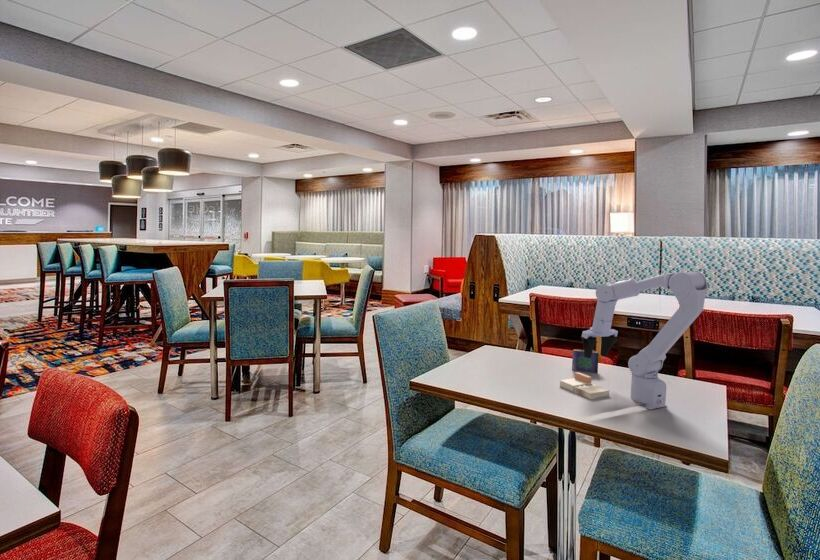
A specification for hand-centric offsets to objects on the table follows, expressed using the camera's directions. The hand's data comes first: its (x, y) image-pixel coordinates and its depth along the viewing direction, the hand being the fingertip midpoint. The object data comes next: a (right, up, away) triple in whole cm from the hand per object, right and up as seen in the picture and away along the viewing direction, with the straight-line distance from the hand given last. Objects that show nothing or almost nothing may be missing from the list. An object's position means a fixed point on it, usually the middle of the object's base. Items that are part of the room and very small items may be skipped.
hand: (595, 356), depth 158 cm
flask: (+2, -10, +16) cm, 19 cm away
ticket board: (-10, -11, -8) cm, 18 cm away
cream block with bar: (-8, -10, -4) cm, 13 cm away
